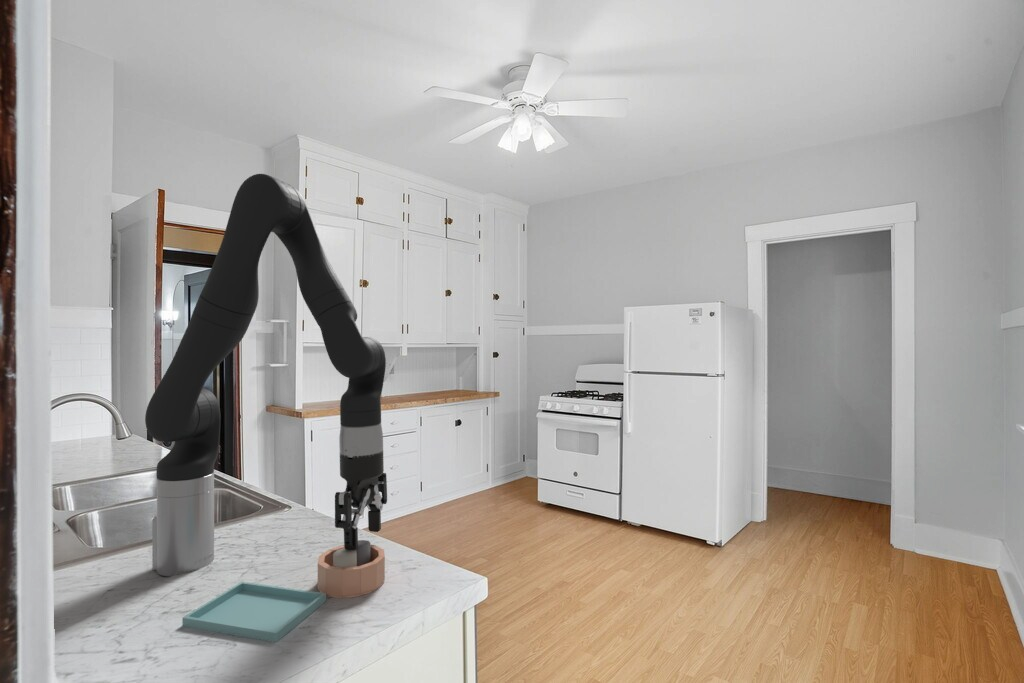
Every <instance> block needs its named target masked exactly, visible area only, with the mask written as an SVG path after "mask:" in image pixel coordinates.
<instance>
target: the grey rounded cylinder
mask: <svg viewBox="0 0 1024 683" xmlns="http://www.w3.org/2000/svg"><path fill="white" fill-rule="evenodd" d="M370 545H371V542H370V541H369V540H365V539H363V540H362V539H360V540H359V539H358V547H357V548H356V549H355V550H356V553H357V566H361V565H364V564H367V563H370V562H371V560H370Z"/></svg>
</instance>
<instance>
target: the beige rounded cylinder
mask: <svg viewBox="0 0 1024 683" xmlns="http://www.w3.org/2000/svg"><path fill="white" fill-rule="evenodd" d="M333 566H334V567H341V568H347V567H356V566H357V553H356V550H349V549H345V548H342V549H339V550H337V551H336V552H334V554H333Z"/></svg>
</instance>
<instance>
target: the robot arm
mask: <svg viewBox="0 0 1024 683" xmlns="http://www.w3.org/2000/svg"><path fill="white" fill-rule="evenodd" d="M271 233H274V234H275V235H276V236H277V238H278V239H279V240H280V241H281V243H282V244H283V245H284V247H285V248H286V250H287V251H288V253H289V255H290V257H291V259H292V262H293V264H294V267H295V271H296V272H295V273H296V277H297V283H298V287H299V291H300V293H301V295H302V298H303V300H304V302H305V304H306V306H307V309H308V310H309V311H310V313H311V315H312V317H313V318H314V320H315V322H316V323H317V325H318V326H319V329H320V332H321V335H322V340H323V343H324V347H325V350H326V353H327V356H328V358H329V360H330V363H331V364H332V365H333V367H334V369H336V371H337V372H338V373H339V374H341V376H343V377H346V378H348V385H347V389H346V391H345V392H344V393H342V395H341V398H340V402H339V403H340V404H339V412H340V413H339V414H340V415H339V417H340V421H339V422H340V430H339V436H338V439H339V446H338V447H339V475H340V477H341V478H342V479H344V480H345V481H346V486H345V490H344V491H336V492H335V493H334V527H335V528H336V529H343V545H344V547H345V549H349V550H355V549H356V548H357V547H358V540H359V535H358V534H359V532H358V531H359V530H358V524H359V520H360V517H361V516H363V514H364V511H365V509H366V507H367V510H368V512H367V517H368V518H367V519H368V520H367V524H368V525H367V526H368V528H367V530H368V531H369V532H372V533H373V532H374V533H378V532H380V531H381V530H382V522H381V521H382V519H381V518H382V517H381V516H382V515H381V514H382V513H381V511H383V509H384V505H386V504H387V503H388V485H387V484H388V480H387V473H386V472H384V434H383V427H382V403H381V396H382V392H383V388H384V381H385V375H386V368H387V366H386V365H387V364H386V363H387V360H386V354H385V352H386V351H385V349H384V347H383V345H382V344H381V343H380V342H379V341H378V340H377V339H375V338H373V337H371V336H362V335H361V333H360V330H359V328H358V326H357V324H356V321H357V319H358V313H357V309H356V307H355V306H354V303H353V302H352V300H351V299H350V296H349V295H348V293H347V291H346V290H345V288H344V286H343V285H342V282H341V281H340V279H339V277H338V275H337V274H336V272H335V270H334V269H333V267H332V265H331V262H330V261H329V258H328V256H327V254H326V252H325V249H324V247H323V245H322V242H321V239H320V237H319V235H318V233H317V230H316V227H315V224H314V222H313V220H312V216H311V213H310V210H309V208H308V206H307V202H306V201H305V199H304V197H303V195H302V194H301V192H300V191H299V190H298V189H297V188H296V187H294V186H292V185H290V184H289V183H286V182H284V181H283V180H280V179H278V178H276V177H275V176H274V177H273V176H271V175H269V174H265V173H256V174H253V175H250V176H249V177H248V178H246V179H245V180H244V181H243V182H242V183H241V185H240V186H239V188H238V190H237V192H236V194H235V196H234V200H233V203H232V206H231V210H230V214H229V215H228V220H227V224H226V227H225V231H224V234H223V238H222V239H221V243H220V246H219V249H218V251H217V254H216V256H215V258H214V261H213V264H212V267H211V268H210V271H209V274H208V277H207V279H206V281H205V283H204V285H203V287H202V290H201V292H200V295H199V296H198V299H197V301H196V304H195V306H194V309H193V311H192V314H191V317H190V320H189V322H188V325H187V327H186V329H185V330H184V334H183V336H182V338H181V339H180V342H179V344H178V345H177V346H178V347H177V349H176V352H175V354H174V356H173V358H172V360H171V362H170V364H169V366H168V368H167V369H166V370H165V373H164V374H163V377H162V378H161V380H160V382H159V383H158V385H157V387H156V389H155V390H154V392H153V394H152V396H151V398H150V400H149V403H147V404H148V405H147V408H146V410H145V416H144V417H145V418H144V419H145V420H144V423H145V429H146V430H147V433H148V434H149V436H150V437H152V439H153V440H155V441H158V442H160V443H173V442H174V444H173V446H172V448H171V449H170V451H169V452H168V453H167V454H166V455H165V456H164V457H163V458H161V459H160V460H159V461H158V463H157V465H156V516H155V517H153V518H152V521H151V523H152V524H151V526H152V528H151V530H152V534H151V537H152V538H151V539H152V540H151V541H152V542H151V543H152V544H151V545H152V546H151V547H152V548H151V549H152V550H151V551H152V558H151V560H152V561H151V562H152V564H151V565H152V570H153V571H156V573H157V574H158V575H160V576H163V577H172V576H174V575H177V574H178V575H179V574H185V573H189V572H193V571H197V570H200V569H202V568H205V567H206V566H209V565H210V564H212V563H213V561H214V560H215V463H216V461H217V459H218V457H219V451H220V436H221V435H220V434H221V408H220V403H219V401H218V399H217V396H215V394H214V393H213V391H211V390H209V389H206V388H205V387H204V386H205V384H206V382H207V380H208V379H209V377H210V375H212V373H213V372H214V371H215V369H216V368H217V367H218V366H219V365H220V364H221V363H222V362H223V361H224V360H226V358H227V357H228V356H229V355H230V354H231V353H232V352H233V351H234V350H235V348H236V347H237V346H238V345H239V344H240V342H241V341H242V339H243V338H244V336H245V335H246V333H247V332H248V329H249V326H250V325H251V322H252V319H253V317H254V314H255V313H256V310H257V307H258V304H259V303H258V302H259V295H260V294H259V292H260V291H259V286H260V285H259V263H260V258H261V256H262V252H263V250H264V248H265V245H266V244H267V241H268V238H269V236H270V235H271ZM352 507H353V508H352ZM352 516H353V517H352Z"/></svg>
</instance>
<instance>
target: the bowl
mask: <svg viewBox="0 0 1024 683" xmlns="http://www.w3.org/2000/svg"><path fill="white" fill-rule="evenodd" d="M342 548H345V547H344V544H342V545H339V546H336V547H333V548H330V549H327V550H326V551H325V552H322V553H321V554H320V555H319V556H318V558H317V589H318V590H319V591H318V592H320V593H326V597H332V598H338V599H340V598H341V599H343V598H345V599H346V598H354V597H359V596H360V597H361V596H363V595H366V594H367V595H368V594H369V593H372V592H374V591H376V590H377V589H379V588H380V587H382V585H383V584H384V582H385V580H386V578H385V574H386V573H385V572H386V570H385V568H386V563H385V559H386V556H385V549H383V548H382V547H379V546H378V545H375V544H370V560H371V562H370V563H367V564H364V565H361V566H356V567H347V568H341V567H334V566H333V554H334V552H336V551H337V550H339V549H342Z"/></svg>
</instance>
